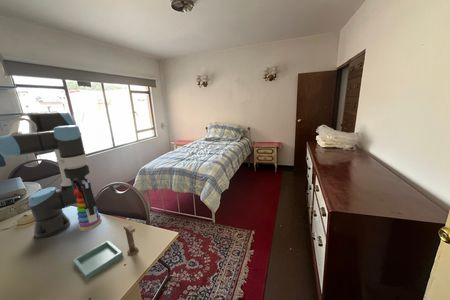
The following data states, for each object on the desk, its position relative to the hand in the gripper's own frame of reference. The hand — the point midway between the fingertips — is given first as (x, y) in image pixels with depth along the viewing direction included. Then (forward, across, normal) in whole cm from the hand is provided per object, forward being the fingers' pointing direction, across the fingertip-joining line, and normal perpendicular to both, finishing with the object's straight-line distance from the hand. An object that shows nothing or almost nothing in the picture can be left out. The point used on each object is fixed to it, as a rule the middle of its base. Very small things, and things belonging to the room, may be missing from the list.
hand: (89, 218), depth 78 cm
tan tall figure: (+21, +8, +11) cm, 25 cm away
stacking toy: (+4, 0, 0) cm, 4 cm away
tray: (+21, 0, 0) cm, 21 cm away
